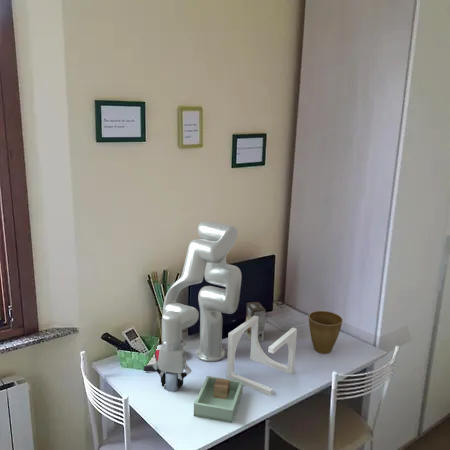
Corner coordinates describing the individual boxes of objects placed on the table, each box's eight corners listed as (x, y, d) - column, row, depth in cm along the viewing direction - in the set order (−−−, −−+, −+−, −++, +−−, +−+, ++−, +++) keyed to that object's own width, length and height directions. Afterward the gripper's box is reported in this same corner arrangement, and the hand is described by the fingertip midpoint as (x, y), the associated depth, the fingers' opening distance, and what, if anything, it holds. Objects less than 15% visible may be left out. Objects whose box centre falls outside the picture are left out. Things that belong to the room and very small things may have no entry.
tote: (207, 387, 183) (207, 375, 182) (242, 392, 180) (242, 381, 179) (193, 416, 166) (193, 403, 165) (232, 422, 163) (232, 410, 162)
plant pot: (342, 359, 206) (346, 325, 202) (308, 357, 206) (311, 324, 202) (335, 342, 221) (338, 311, 216) (304, 341, 221) (306, 309, 217)
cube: (216, 389, 180) (217, 378, 179) (229, 391, 179) (229, 380, 178) (213, 397, 175) (213, 385, 174) (226, 399, 174) (227, 387, 173)
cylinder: (168, 383, 185) (168, 367, 183) (180, 385, 184) (180, 369, 182) (163, 390, 180) (163, 374, 178) (176, 392, 179) (176, 376, 177)
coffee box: (244, 333, 226) (246, 302, 222) (257, 332, 228) (258, 301, 224) (251, 342, 218) (252, 310, 214) (264, 341, 220) (266, 309, 216)
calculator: (144, 365, 191) (140, 345, 204) (144, 374, 192) (140, 354, 206) (171, 362, 194) (165, 342, 207) (170, 371, 195) (165, 351, 209)
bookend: (293, 372, 195) (297, 328, 190) (270, 396, 179) (273, 348, 174) (252, 357, 206) (254, 315, 200) (226, 378, 190) (228, 333, 184)
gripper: (196, 342, 179) (196, 383, 183) (154, 335, 183) (154, 377, 187) (190, 351, 172) (190, 395, 176) (146, 345, 175) (147, 387, 180)
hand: (171, 385), depth 182 cm, fingers open, 5 cm apart
